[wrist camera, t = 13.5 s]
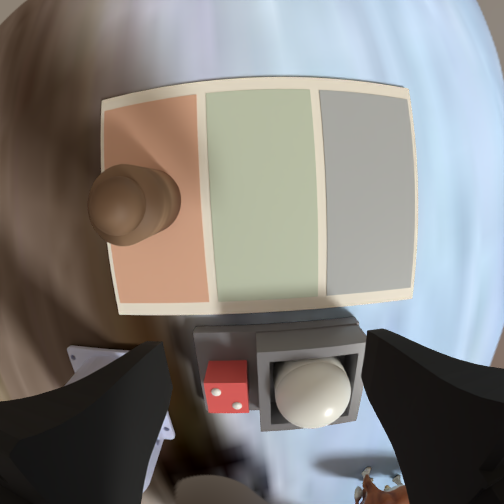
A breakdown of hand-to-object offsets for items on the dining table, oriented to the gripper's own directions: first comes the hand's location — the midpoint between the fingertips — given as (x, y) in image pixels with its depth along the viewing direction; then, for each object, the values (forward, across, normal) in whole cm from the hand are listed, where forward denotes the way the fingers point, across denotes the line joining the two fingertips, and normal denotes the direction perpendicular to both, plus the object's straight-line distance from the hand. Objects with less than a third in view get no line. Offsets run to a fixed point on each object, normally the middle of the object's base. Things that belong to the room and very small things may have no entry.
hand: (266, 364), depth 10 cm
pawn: (+9, +6, -6) cm, 12 cm away
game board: (+9, 0, -6) cm, 11 cm away
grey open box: (+9, -1, +6) cm, 11 cm away
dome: (+8, -3, +6) cm, 11 cm away
